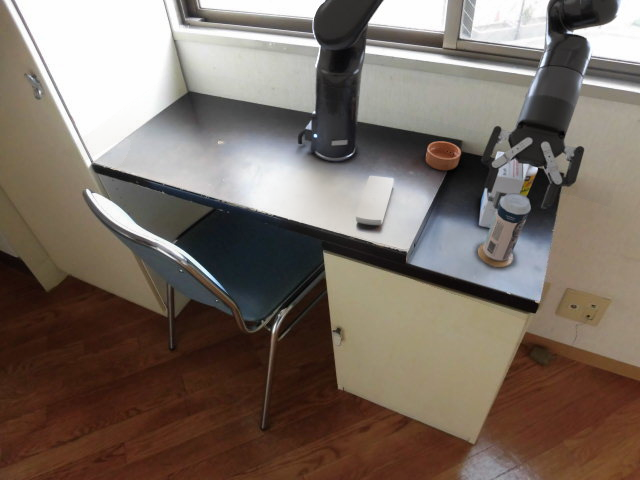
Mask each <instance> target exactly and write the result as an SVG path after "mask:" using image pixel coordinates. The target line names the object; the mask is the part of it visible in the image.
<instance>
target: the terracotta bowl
mask: <svg viewBox="0 0 640 480" xmlns="http://www.w3.org/2000/svg"><path fill="white" fill-rule="evenodd" d="M426 148H427V149H426V153H425V158H424V159H425V163H426V164H427V165H428V166H430V167H431V168H432V169H435V170H438V171H451V170H454V169H455V168H457V166H458V165H459V162H460V159H461V155H462V150H461V148H460V147H459V146H457V145H456V144H454V143H452V142H449V141H443V140H441V141H433V142H430V143H429V144H428V145H427V147H426ZM447 151H448V152H447ZM450 152H451V153H450ZM453 154H454V155H453Z"/></svg>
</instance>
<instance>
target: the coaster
mask: <svg viewBox="0 0 640 480" xmlns="http://www.w3.org/2000/svg"><path fill="white" fill-rule="evenodd" d="M484 244H485V242H483V243H482V244H480V246H479V247H478V249H477V255H478V257H479V259H480V260H481V261H482V262H483V263H485V264H486V265H489V266H491V267H493V268H494V267H495V268H506V267H508V266H510V265H511V264H512V262H513V261H514V255H513V253H512V254H511V256H510V257H509V258H508V259H506V260H502V261H500V260H494V259H492V258H490V257H488V256H487V255H486V254H485V252H484V250H483V246H484Z"/></svg>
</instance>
